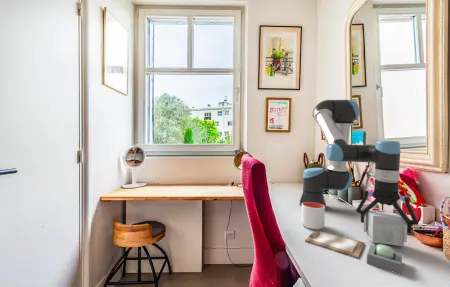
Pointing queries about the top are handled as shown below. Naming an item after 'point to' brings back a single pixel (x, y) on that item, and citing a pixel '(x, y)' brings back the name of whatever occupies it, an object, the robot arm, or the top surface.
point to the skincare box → (385, 228)
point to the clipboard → (336, 243)
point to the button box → (385, 260)
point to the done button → (385, 251)
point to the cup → (313, 215)
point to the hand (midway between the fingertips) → (384, 235)
